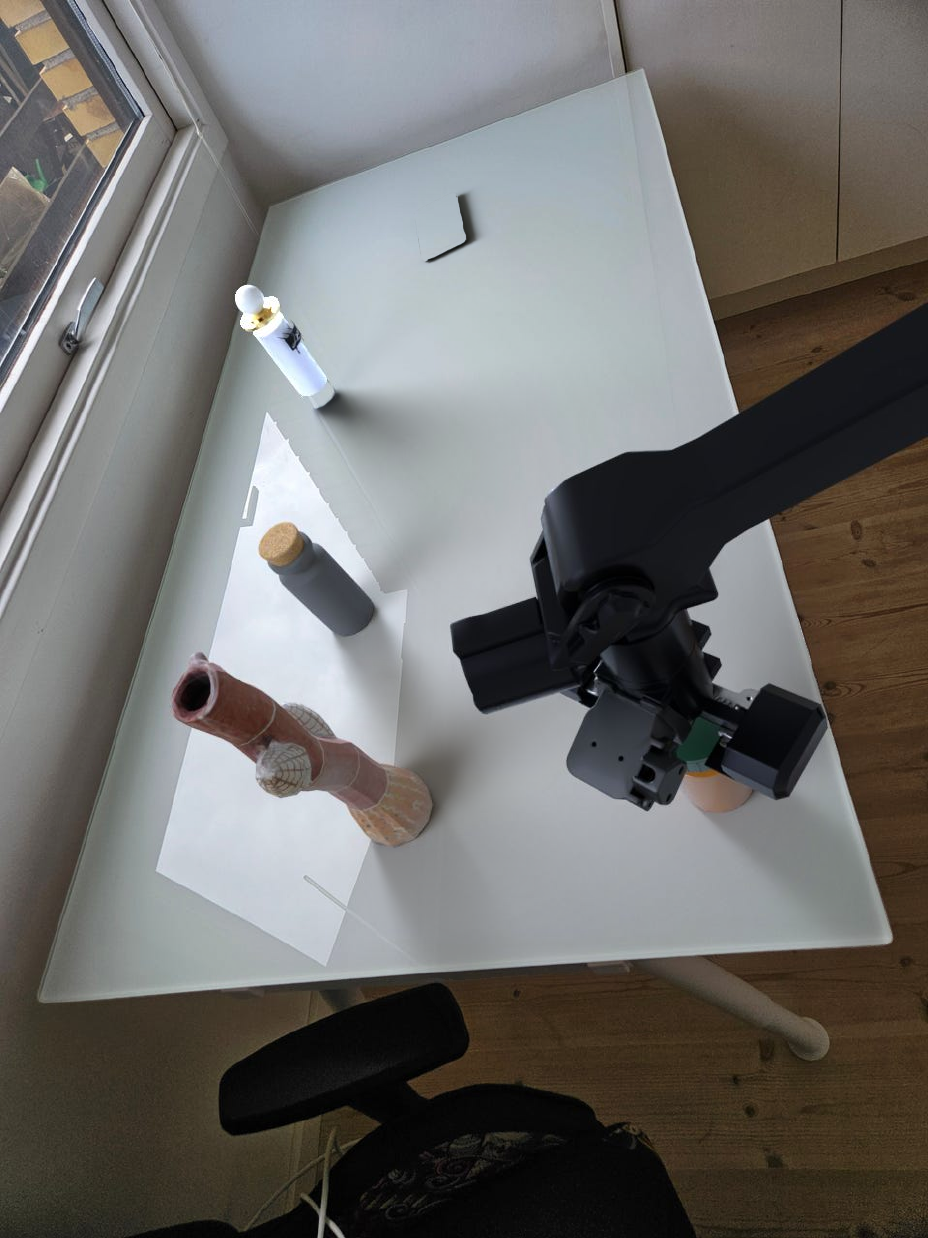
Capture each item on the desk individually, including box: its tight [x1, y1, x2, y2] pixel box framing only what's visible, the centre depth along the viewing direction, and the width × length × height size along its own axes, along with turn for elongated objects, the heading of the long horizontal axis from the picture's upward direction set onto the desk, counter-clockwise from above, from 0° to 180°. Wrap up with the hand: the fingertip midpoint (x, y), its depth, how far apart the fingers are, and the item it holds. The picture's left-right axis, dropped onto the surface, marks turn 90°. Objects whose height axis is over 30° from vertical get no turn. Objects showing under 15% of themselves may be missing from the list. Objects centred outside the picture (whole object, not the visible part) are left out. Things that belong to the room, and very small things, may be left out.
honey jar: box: [679, 769, 754, 814], centre depth 64 cm, size 6×6×10 cm
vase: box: [169, 651, 434, 848], centre depth 66 cm, size 10×7×30 cm
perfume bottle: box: [235, 284, 328, 397], centre depth 111 cm, size 6×6×20 cm
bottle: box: [257, 521, 374, 637], centre depth 88 cm, size 6×6×15 cm
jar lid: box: [676, 697, 737, 773], centre depth 59 cm, size 7×7×2 cm
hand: (693, 743), depth 61 cm, fingers closed on jar lid, 6 cm apart
